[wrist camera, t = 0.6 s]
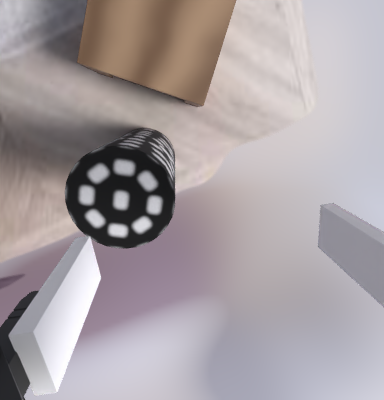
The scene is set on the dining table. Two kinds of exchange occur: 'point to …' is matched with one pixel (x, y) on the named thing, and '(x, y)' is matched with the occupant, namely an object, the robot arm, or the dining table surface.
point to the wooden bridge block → (157, 43)
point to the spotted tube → (124, 190)
